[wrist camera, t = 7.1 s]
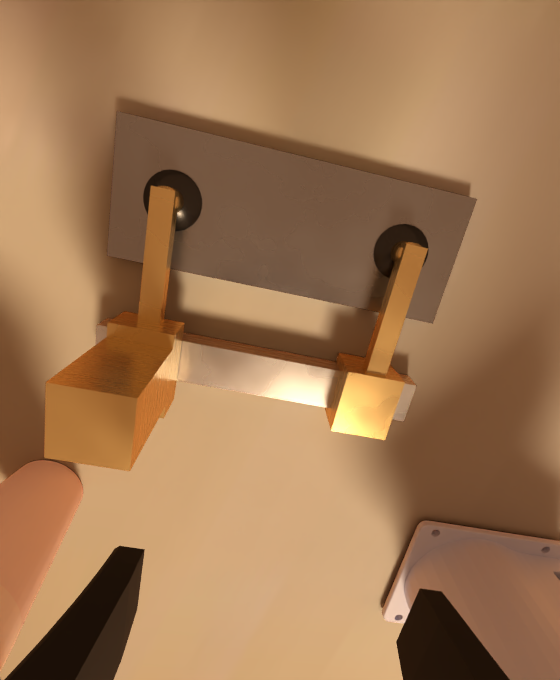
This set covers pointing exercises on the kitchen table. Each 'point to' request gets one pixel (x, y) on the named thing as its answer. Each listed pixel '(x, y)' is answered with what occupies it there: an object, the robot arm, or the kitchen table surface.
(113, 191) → the flange plate
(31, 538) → the smoothie
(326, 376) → the dividers bar
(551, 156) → the kitchen table surface
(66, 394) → the orange block with stem
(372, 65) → the kitchen table surface
